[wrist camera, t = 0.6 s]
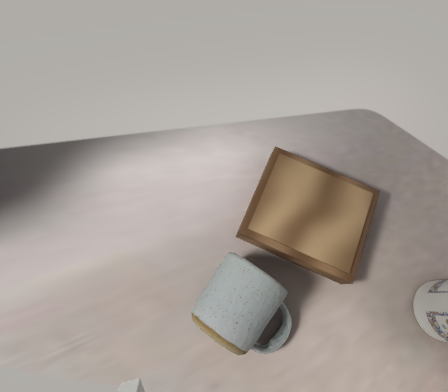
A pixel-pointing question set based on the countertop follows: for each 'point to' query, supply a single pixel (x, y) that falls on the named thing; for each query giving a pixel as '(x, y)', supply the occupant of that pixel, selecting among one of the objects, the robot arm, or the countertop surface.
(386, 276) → the countertop surface
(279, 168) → the walnut base
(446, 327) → the bath foam
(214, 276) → the ceramic mug
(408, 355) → the countertop surface
